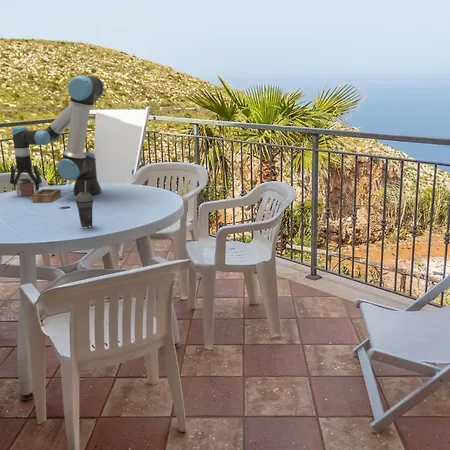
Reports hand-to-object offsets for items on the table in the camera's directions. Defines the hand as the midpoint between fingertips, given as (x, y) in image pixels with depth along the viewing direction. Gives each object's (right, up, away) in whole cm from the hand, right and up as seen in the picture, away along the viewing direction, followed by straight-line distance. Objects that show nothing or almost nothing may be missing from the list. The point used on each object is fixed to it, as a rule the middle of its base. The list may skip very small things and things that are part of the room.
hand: (27, 196), depth 280 cm
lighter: (0, 0, 0) cm, 0 cm away
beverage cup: (+49, -17, -61) cm, 80 cm away
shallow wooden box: (+14, -2, -8) cm, 16 cm away
